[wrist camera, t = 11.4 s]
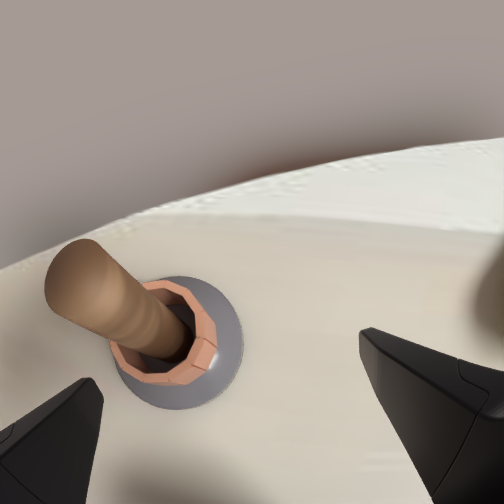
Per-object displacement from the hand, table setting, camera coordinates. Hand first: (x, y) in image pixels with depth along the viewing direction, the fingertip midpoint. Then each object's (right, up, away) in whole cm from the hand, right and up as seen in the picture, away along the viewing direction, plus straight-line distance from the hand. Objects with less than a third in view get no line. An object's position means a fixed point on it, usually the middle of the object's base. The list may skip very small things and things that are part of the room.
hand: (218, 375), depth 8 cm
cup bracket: (-5, -4, +14) cm, 16 cm away
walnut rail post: (-5, -3, +13) cm, 15 cm away
